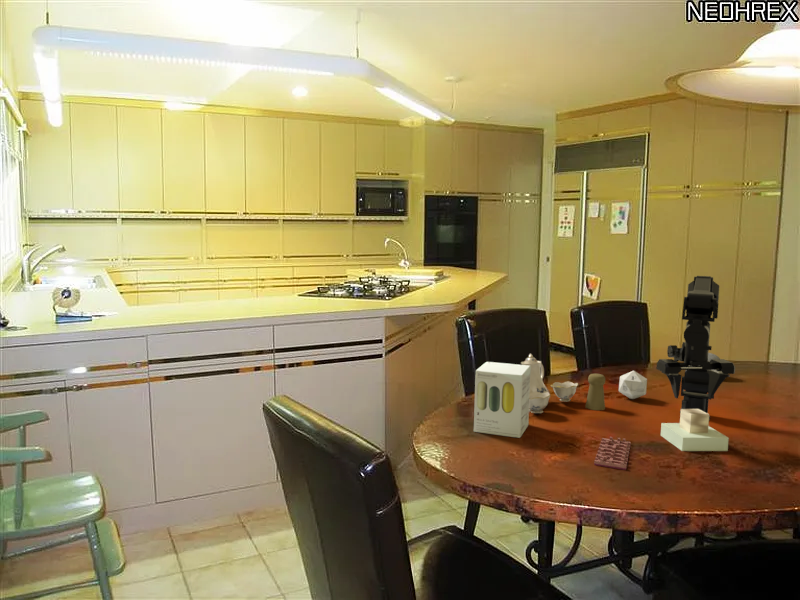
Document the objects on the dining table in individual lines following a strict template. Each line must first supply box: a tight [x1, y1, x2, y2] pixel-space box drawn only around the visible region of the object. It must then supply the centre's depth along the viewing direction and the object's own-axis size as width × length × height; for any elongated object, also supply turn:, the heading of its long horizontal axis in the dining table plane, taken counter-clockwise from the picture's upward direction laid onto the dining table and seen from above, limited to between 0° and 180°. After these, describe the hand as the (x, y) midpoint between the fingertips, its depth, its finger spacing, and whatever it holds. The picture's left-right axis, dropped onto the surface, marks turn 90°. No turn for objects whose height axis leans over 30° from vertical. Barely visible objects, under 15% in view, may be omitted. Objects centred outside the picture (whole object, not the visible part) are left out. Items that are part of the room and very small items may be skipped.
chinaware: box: [520, 353, 579, 414], centre depth 198 cm, size 28×17×17 cm, turn 142°
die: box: [618, 370, 648, 400], centre depth 208 cm, size 8×9×10 cm
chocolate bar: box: [593, 436, 631, 471], centre depth 158 cm, size 7×19×2 cm, turn 157°
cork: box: [584, 373, 606, 411], centre depth 197 cm, size 6×6×11 cm
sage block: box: [660, 422, 730, 452], centre depth 166 cm, size 12×12×4 cm
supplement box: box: [473, 361, 531, 439], centre depth 175 cm, size 13×13×18 cm
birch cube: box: [679, 408, 710, 433], centre depth 166 cm, size 5×5×5 cm
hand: (693, 397), depth 167 cm, fingers open, 9 cm apart
